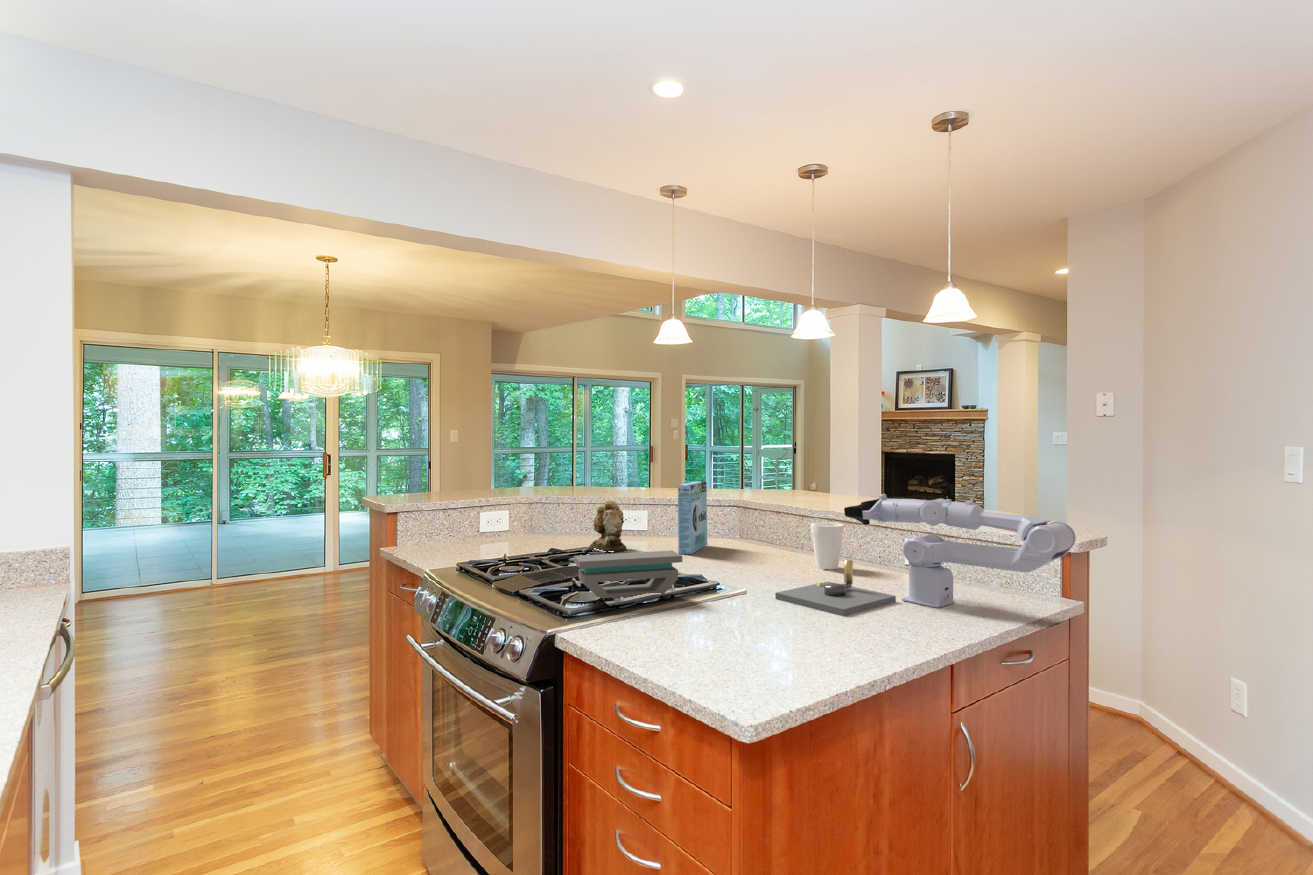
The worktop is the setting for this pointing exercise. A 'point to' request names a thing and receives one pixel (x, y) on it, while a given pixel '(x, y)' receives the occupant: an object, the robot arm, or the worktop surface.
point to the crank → (840, 589)
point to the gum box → (692, 517)
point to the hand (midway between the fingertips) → (853, 508)
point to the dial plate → (835, 599)
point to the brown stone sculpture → (609, 527)
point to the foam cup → (827, 544)
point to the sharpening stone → (628, 572)
